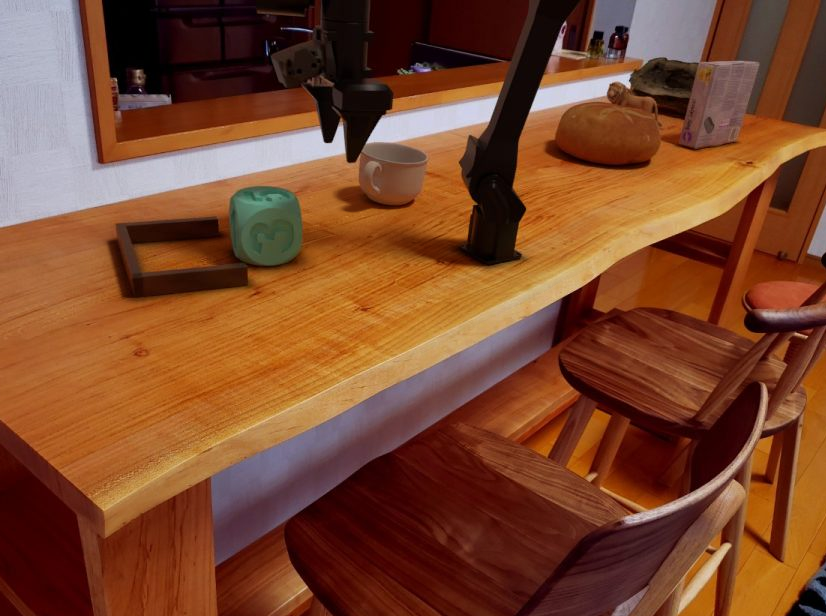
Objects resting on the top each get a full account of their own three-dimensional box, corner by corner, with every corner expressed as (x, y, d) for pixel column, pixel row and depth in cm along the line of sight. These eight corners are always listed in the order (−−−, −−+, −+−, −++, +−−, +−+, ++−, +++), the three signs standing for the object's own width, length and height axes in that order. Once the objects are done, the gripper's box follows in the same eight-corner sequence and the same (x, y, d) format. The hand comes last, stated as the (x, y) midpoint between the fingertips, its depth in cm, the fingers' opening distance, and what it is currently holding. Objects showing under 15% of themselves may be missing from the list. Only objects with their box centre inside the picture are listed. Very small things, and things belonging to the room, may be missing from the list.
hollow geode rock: (721, 143, 192) (755, 97, 193) (714, 111, 182) (750, 62, 183) (629, 115, 210) (661, 73, 210) (618, 85, 200) (651, 40, 200)
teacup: (385, 184, 128) (389, 137, 124) (437, 201, 122) (442, 152, 118) (330, 202, 118) (331, 151, 114) (383, 220, 113) (386, 168, 109)
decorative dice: (230, 244, 101) (228, 186, 97) (288, 241, 103) (288, 184, 99) (240, 268, 94) (238, 207, 90) (302, 264, 97) (303, 204, 93)
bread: (686, 168, 151) (701, 117, 146) (590, 173, 143) (601, 120, 138) (617, 138, 169) (627, 92, 164) (528, 141, 161) (536, 93, 156)
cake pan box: (721, 136, 178) (744, 57, 169) (740, 141, 175) (765, 61, 166) (675, 145, 168) (697, 61, 158) (694, 150, 164) (718, 65, 155)
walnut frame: (217, 233, 104) (216, 216, 103) (248, 285, 90) (247, 266, 89) (117, 241, 99) (115, 223, 98) (134, 297, 85) (131, 277, 84)
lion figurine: (598, 120, 184) (607, 81, 180) (604, 116, 188) (612, 79, 184) (659, 130, 179) (669, 91, 174) (663, 126, 183) (673, 88, 178)
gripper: (257, 7, 92) (259, 135, 100) (302, 30, 78) (299, 177, 86) (343, 10, 96) (337, 132, 104) (400, 32, 82) (389, 173, 90)
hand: (339, 152), depth 96 cm, fingers open, 9 cm apart
